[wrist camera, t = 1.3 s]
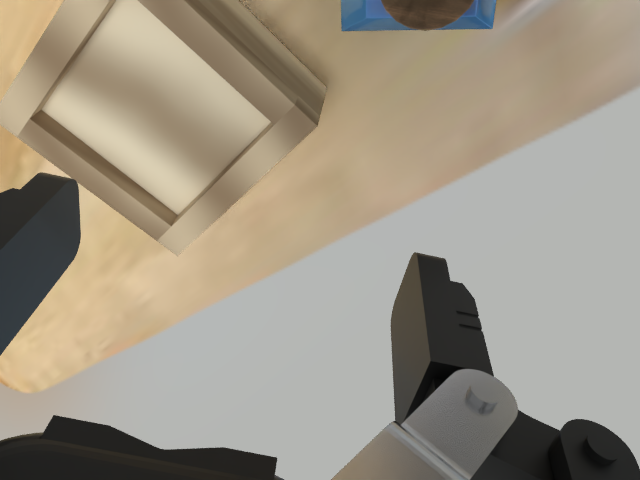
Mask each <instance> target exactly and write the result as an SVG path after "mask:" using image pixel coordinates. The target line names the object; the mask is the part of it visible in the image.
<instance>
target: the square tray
mask: <svg viewBox="0 0 640 480" xmlns="http://www.w3.org/2000/svg"><path fill="white" fill-rule="evenodd" d="M326 90H327V87H326V86H325V85H324V84H323V83H322V82H321V81H320V80H319V79H318V78H317V77H316V76H315V75H314V74H313V73H312V72H311V71H310V70H309V69H308V68H307V67H306V66H305V65H303V64H302V63H301V62H300V61H299V60H298V59H297V58H296V57H295V56H294V55H293V54H292V53H291V52H290V51H289V50H288V49H287V48H286V47H285V46H284V45H283V44H282V43H281V42H280V41H279V40H278V39H277V38H276V37H275V36H274V35H273V34H272V33H271V32H270V31H269V30H268V29H267V28H266V27H265V26H264V25H263V24H262V23H261V22H260V21H259V20H258V19H257V18H256V17H255V16H254V15H253V14H252V13H251V12H250V11H249V10H248V9H247V8H246V7H245V6H244V5H243V4H242V3H241V2H240V1H239V0H64V1H63V3H62V5H61V6H60V8H59V9H58V11H57V13H56V14H55V16H54V17H53V19H52V20H51V22H50V24H49V25H48V27H47V28H46V30H45V32H44V33H43V35H42V36H41V38H40V40H39V41H38V43H37V44H36V46H35V48H34V49H33V51H32V52H31V54H30V56H29V57H28V59H27V60H26V62H25V64H24V65H23V67H22V68H21V70H20V72H19V73H18V75H17V76H16V78H15V79H14V81H13V83H12V84H11V86H10V87H9V89H8V91H7V92H6V94H5V95H4V97H3V99H2V100H1V102H0V125H1V126H3V127H4V128H5V129H7V130H8V131H9V132H11V133H12V134H13V135H15V136H16V137H17V138H19V139H20V140H21V141H23V142H24V143H25V144H27V145H28V146H29V147H31V148H32V149H34V150H35V151H36V152H38V153H39V154H40V155H42V156H43V157H44V158H46V159H47V160H48V161H50V162H51V163H52V164H54V165H55V166H56V167H58V168H59V169H61V170H62V171H63V172H65V173H66V174H67V175H69V176H70V177H71V178H73V179H74V180H76V181H77V182H78V183H79V184H81V185H82V186H83V187H85V188H86V189H87V190H89V191H90V192H92V193H93V194H94V195H96V196H97V197H98V198H100V199H101V200H102V201H104V202H105V203H106V204H108V205H109V206H110V207H112V208H113V209H114V210H116V211H117V212H119V213H120V214H121V215H123V216H124V217H125V218H127V219H128V220H129V221H131V222H132V223H133V224H135V225H136V226H137V227H139V228H140V229H141V230H143V231H144V232H146V233H147V234H148V235H150V236H151V237H152V238H154V239H155V240H156V241H158V242H159V243H160V244H162V245H163V246H164V247H166V248H167V249H168V250H170V251H171V252H172V253H174V254H175V255H177V256H178V255H180V254H181V253H182V252H183V251H184V250H185V249H186V248H187V247H188V246H189V245H190V244H191V243H192V242H194V241H195V240H196V239H197V238H198V237H199V236H200V235H201V234H202V233H203V232H204V231H205V230H206V229H207V228H209V227H210V226H211V225H212V224H213V223H214V222H215V221H216V220H217V219H218V218H219V217H220V216H221V215H223V214H224V213H225V212H226V211H227V210H228V209H229V208H230V207H231V206H232V205H233V204H234V203H235V202H236V201H238V200H239V199H240V198H241V197H242V196H243V195H244V194H245V193H246V192H247V191H248V190H249V189H250V188H251V187H253V186H254V185H255V184H256V183H257V182H258V181H259V180H260V179H261V178H262V177H263V176H264V175H265V174H267V173H268V172H269V171H270V170H271V169H272V168H273V167H274V166H275V165H276V164H277V163H278V162H279V161H280V160H282V159H283V158H284V157H285V156H286V155H287V154H288V153H289V152H290V151H291V150H292V149H293V148H294V147H296V146H297V145H298V144H299V143H300V142H301V141H302V140H303V139H304V138H305V137H306V136H307V135H308V134H309V133H311V132H312V131H313V130H314V129H315V128H316V127H317V126H318V122H319V118H320V114H321V110H322V106H323V102H324V98H325V94H326Z"/></svg>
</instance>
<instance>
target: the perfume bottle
mask: <svg viewBox="0 0 640 480" xmlns="http://www.w3.org/2000/svg"><path fill="white" fill-rule="evenodd" d="M495 6H496V0H341V23H342V31H377V30H424V31H427V30H443V29H492V28H493V21H494V13H495Z"/></svg>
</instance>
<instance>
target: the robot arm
mask: <svg viewBox="0 0 640 480" xmlns="http://www.w3.org/2000/svg"><path fill="white" fill-rule="evenodd" d="M80 237H81V231H80V210H79V190H78V184H77V182H76V180H74V179H71V178H66V177H61V176H56V175H52V174H47V173H38V174H37V175H36V176H35V177H33V178H32V179H31V180H30V181H29V182H28V183H27V184H26V185H25V186H23V187H22V188H21V189H20V190H19V189H14V188H12V189H9V190H7V191H4V192H2V193H0V355H1V354H2V353H3V351H4V350H5V349H6V347H7V346H8V345H9V343H10V342H11V341H12V340H13V338H14V337H15V336H16V334H17V333H18V332H19V330H20V329H21V328H22V326H23V325H24V324H25V323H26V321H27V320H28V319H29V317H30V316H31V315H32V313H33V312H34V311H35V309H36V308H37V307H38V306H39V304H40V303H41V302H42V300H43V299H44V298H45V296H46V295H47V294H48V293H49V291H50V290H51V289H52V287H53V286H54V285H55V283H56V282H57V281H58V279H59V278H60V277H61V276H62V274H63V273H64V272H65V270H66V269H67V268H68V266H69V265H70V264H71V263H72V261H73V260H74V258H75V256H76V254H77V251H78V248H79V244H80ZM478 316H479V315H478V311H477V307H476V303H475V299H474V298H473V297H472V295H471V294H470V293H469V291H468V290H467V289H466V287H465V286H464V285H463V284H462V283H458V282H453V281H450V277H449V272H448V267H447V262H446V260H445V259H444V258H439V257H434V256H429V255H425V254H420V253H413V255H412V257H411V259H410V261H409V264H408V267H407V269H406V272H405V275H404V278H403V280H402V283H401V286H400V289H399V291H398V294H397V297H396V300H395V303H394V306H393V311H392V317H391V341H392V362H393V382H394V401H395V402H394V403H395V421H393V422H391V423H390V424H389V425H387V426H386V427H385V428H384V429H383V430H382V431H381V432H380V433H379V434H378V435H377V436H376V437H375V438H374V439H373V440H372V441H371V442H370V443H369V444H368V445H367V446H365V447H364V448H363V450H361V451H360V452H359V453H358V454H357V455H356V456H355V457H354V458H353V459H352V460H351V461H350V462H349V463H348V464H347V465H346V466H345V467H344V468H343V469H342V470H340V471H339V472H338V473H337V474H336V475H335V476H334V477H333V478H332V479H331V480H640V469H639V466H638V464H637V461H636V459H635V457H634V455H633V453H632V452H631V450H630V449H629V447H628V446H627V445H626V444H625V443H624V442H623V441H622V440H621V439H620V438H619V437H618V436H617V435H615V434H614V433H613V432H612V431H610V430H609V429H607V428H606V427H604V426H602V425H600V424H598V423H595V422H592V421H589V420H584V419H575V420H571V421H568V422H567V423H566V424H565V425H564V426H563V428H562V429H561V430H560V431H559V430H557V429H555V428H553V427H551V426H549V425H546V424H544V423H542V422H540V421H538V420H536V419H533V418H531V417H530V416H528V415H526V414H524V413H522V412H521V411H519V410H518V407H517V403H516V400H515V398H514V396H513V395H512V393H511V392H510V390H509V389H508V388H507V387H506V386H505V385H504V384H503V383H502V382H501V381H499V380H498V379H497V378H495V377H494V375H493V371H492V367H491V363H490V359H489V355H488V351H487V347H486V343H485V339H484V335H483V332H482V331H481V329H482V327H481V323H480V319H479V318H478ZM276 462H277V458H276V457H271V456H265V455H260V454H254V453H250V452H244V451H239V450H234V449H229V448H200V449H199V448H198V449H175V450H164V449H159V448H157V447H154V446H152V445H150V444H148V443H146V442H143V441H141V440H139V439H137V438H135V437H133V436H130V435H128V434H126V433H124V432H122V431H119V430H117V429H115V428H113V427H111V426H108V425H103V424H97V423H92V422H86V421H81V420H76V419H71V418H66V417H60V416H55V415H54V416H53V417H52V419H51V421H50V422H49V424H48V426H47V428H46V429H45V431H44V433H33V434H26V435H20V436H16V437H11V438H7V439H4V440H1V441H0V480H284V479H282V478H280V477H278V476H276V475H275V469H276Z"/></svg>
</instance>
